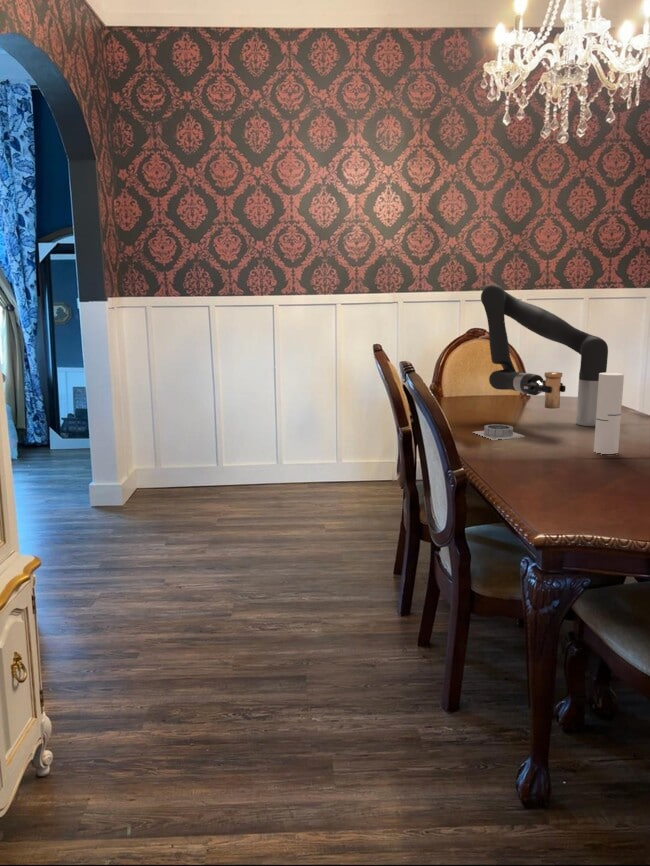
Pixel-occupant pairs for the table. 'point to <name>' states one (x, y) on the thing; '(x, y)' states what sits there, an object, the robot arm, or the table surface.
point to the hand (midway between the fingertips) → (557, 389)
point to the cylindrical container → (608, 413)
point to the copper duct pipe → (553, 390)
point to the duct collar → (498, 432)
